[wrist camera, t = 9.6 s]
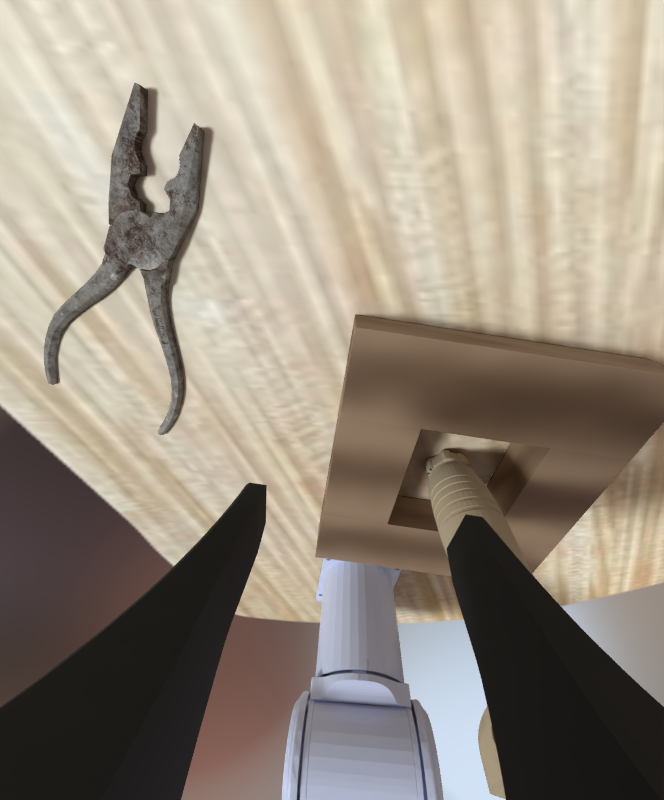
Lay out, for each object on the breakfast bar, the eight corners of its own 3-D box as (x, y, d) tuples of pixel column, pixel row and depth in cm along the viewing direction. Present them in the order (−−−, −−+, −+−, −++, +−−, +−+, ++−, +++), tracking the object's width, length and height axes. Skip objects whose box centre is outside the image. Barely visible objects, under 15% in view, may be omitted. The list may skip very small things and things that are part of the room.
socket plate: (504, 553, 27) (520, 586, 24) (319, 526, 26) (315, 556, 24) (646, 358, 17) (700, 379, 14) (355, 314, 17) (355, 327, 14)
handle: (400, 485, 23) (462, 792, 10) (432, 424, 20) (581, 753, 7) (454, 497, 24) (582, 812, 10) (494, 439, 20) (747, 783, 7)
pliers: (47, 402, 21) (-30, 10, 11) (58, 397, 22) (-6, 25, 12) (175, 441, 22) (203, 112, 12) (181, 435, 23) (211, 120, 13)
